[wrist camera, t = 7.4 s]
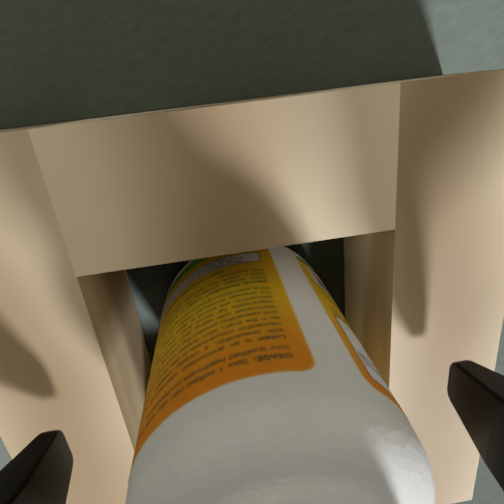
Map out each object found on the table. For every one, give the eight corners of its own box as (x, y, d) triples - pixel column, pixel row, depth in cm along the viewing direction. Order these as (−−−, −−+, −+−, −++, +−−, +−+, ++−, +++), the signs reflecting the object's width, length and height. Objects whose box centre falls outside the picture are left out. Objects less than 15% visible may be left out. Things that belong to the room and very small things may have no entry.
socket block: (443, 74, 11) (547, 64, 7) (417, 416, 16) (471, 499, 12) (-32, 133, 10) (-147, 150, 7) (102, 473, 15) (73, 577, 12)
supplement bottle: (143, 350, 13) (2, 910, 4) (197, 210, 11) (161, 633, 2) (282, 387, 14) (410, 872, 5) (349, 266, 13) (696, 674, 4)
